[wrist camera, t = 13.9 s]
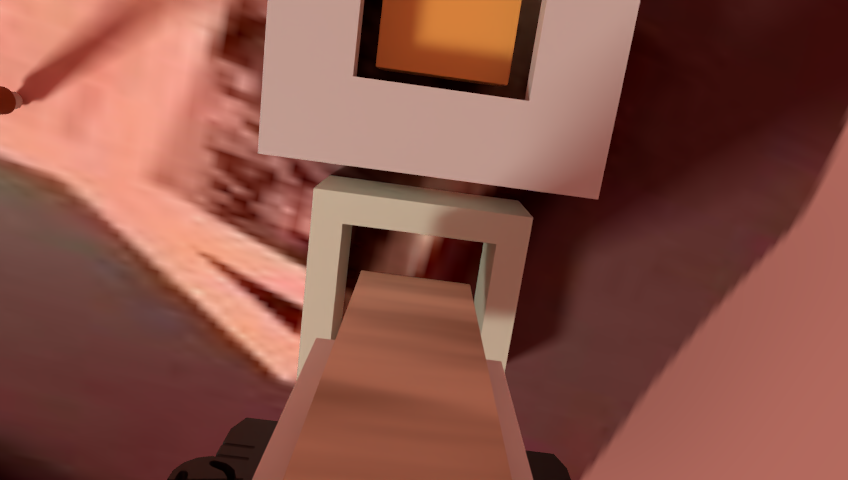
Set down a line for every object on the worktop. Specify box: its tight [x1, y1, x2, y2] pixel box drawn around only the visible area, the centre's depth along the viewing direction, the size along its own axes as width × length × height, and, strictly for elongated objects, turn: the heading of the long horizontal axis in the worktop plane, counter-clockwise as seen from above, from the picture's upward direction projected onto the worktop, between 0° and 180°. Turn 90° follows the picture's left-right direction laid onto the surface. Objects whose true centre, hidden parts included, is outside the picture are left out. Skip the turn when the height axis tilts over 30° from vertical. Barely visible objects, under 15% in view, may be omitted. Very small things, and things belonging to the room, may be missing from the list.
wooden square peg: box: [283, 270, 512, 480], centre depth 13 cm, size 4×4×17 cm
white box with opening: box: [258, 0, 640, 199], centre depth 22 cm, size 12×12×7 cm
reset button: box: [376, 0, 522, 86], centre depth 22 cm, size 5×5×3 cm
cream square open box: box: [297, 175, 533, 379], centre depth 26 cm, size 9×9×4 cm
